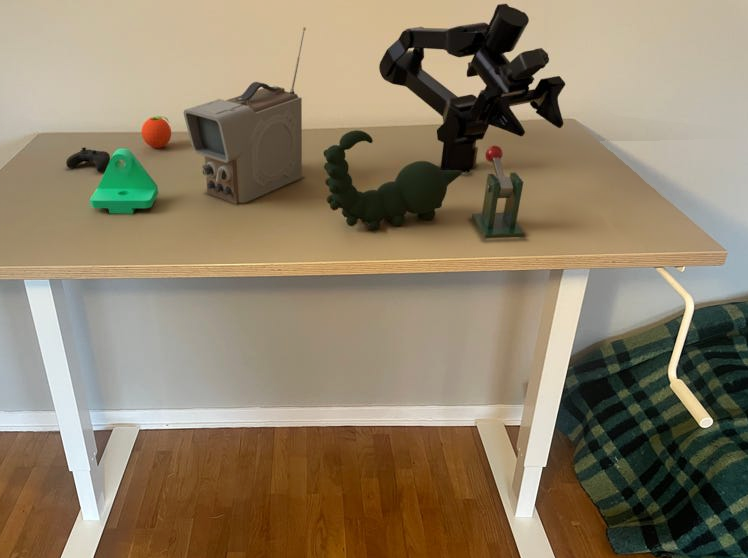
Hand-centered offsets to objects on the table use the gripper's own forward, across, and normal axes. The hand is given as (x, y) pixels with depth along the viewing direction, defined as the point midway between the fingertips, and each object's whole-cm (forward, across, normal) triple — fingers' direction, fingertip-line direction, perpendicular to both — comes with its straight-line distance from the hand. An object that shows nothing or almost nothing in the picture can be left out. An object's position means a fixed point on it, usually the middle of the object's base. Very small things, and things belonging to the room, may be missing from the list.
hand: (542, 130), depth 134 cm
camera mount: (-28, -69, +31) cm, 81 cm away
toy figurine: (+1, -28, +16) cm, 32 cm away
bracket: (+12, -13, +10) cm, 20 cm away
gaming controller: (-50, -69, +42) cm, 95 cm away
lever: (+4, -11, +5) cm, 13 cm away
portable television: (-24, -43, +29) cm, 57 cm away
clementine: (-54, -51, +44) cm, 87 cm away
